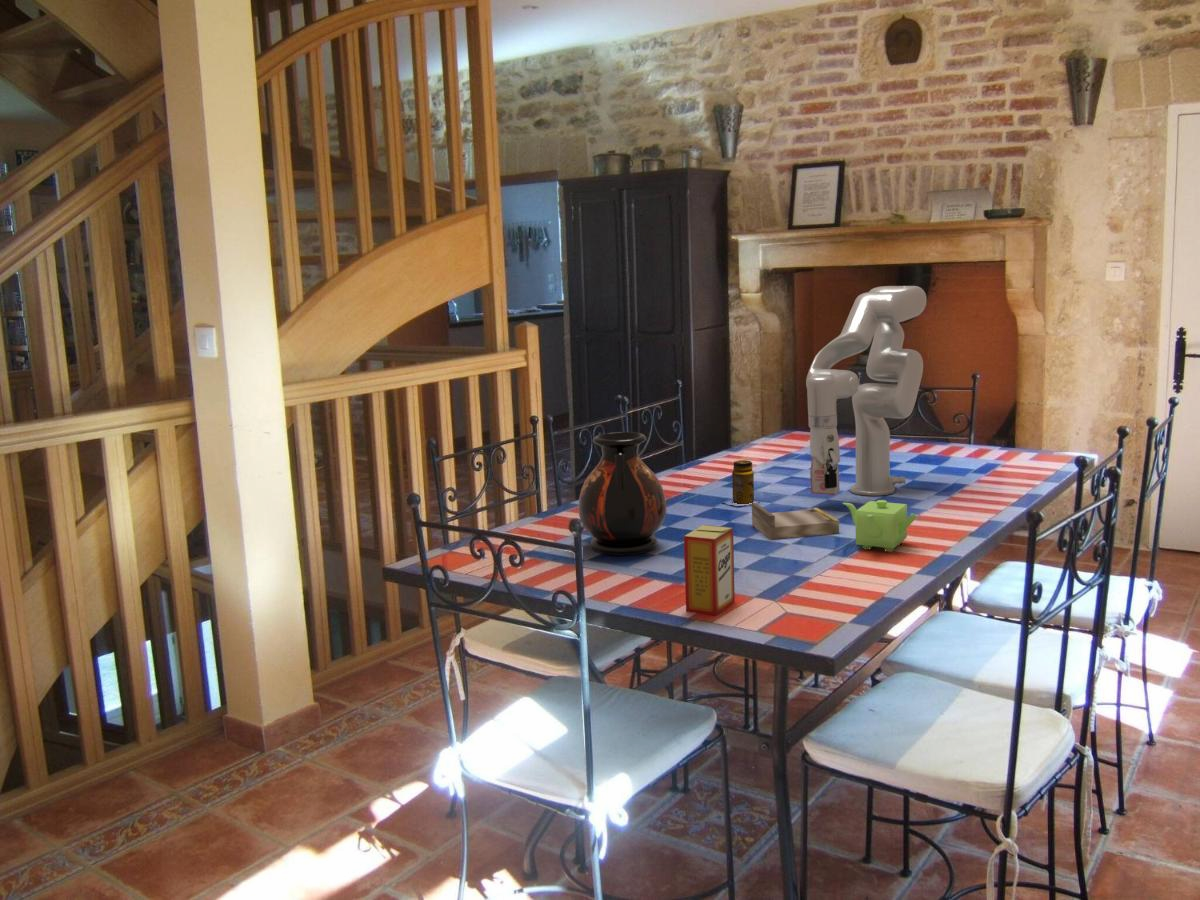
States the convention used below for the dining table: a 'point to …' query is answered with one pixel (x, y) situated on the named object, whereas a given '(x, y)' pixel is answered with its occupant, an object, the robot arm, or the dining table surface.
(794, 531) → the dock
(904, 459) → the dining table surface
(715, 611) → the baking soda box
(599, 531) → the amphora vase
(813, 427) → the robot arm
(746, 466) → the condiment
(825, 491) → the small white carton
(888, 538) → the kettle
